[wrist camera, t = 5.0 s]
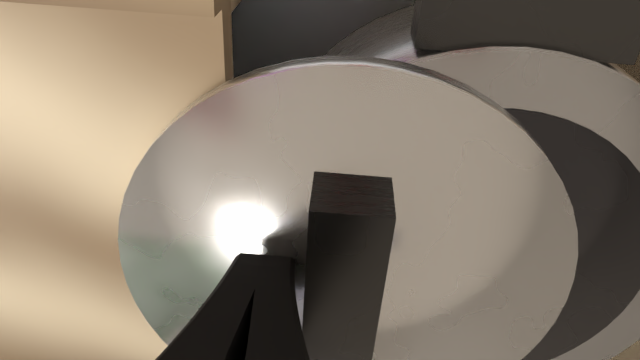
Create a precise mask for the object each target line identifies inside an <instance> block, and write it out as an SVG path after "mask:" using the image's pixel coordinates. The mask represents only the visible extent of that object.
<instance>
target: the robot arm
mask: <svg viewBox="0 0 640 360" xmlns="http://www.w3.org/2000/svg"><path fill="white" fill-rule="evenodd" d="M295 271H296V261H295V260H294V259H293V258H292V257H287V256H275V255H262V254H250V253H240V254H238V255H237V256H236V257H235V259H234V260H233V262H232V264H231V265H230V267H229V268H228V270H227V271H226V273H225V274H224V276H223V277H222V279H221V280H220V282H219V283H218V284H217V286H216V287H215V289H214V290H213V291H212V293H211V294H210V295H209V297H208V298H207V299H206V301H205V302H204V303H203V304H202V306H201V307H200V308H199V310H198V311H197V312H196V313H195V315H194V316H193V317H192V318H191V320H190V321H189V322H188V323H187V324H186V326H185V327H184V328H183V329H182V330H181V331H180V333H179V334H178V335H177V336H176V337H175V338H174V339H173V340H172V342H171V343H170V344H169V345H168V346H167V347H166V348H165V350H164V351H163V352H162V353H161V354H160V355H159V356H158V357H157V358H156V359H155V360H310V359H309V355H308V352H307V348H306V344H305V340H304V336H303V332H302V327H301V322H300V318H299V313H298V307H297V300H296V292H295Z"/></svg>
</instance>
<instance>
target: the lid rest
mask: <svg viewBox="0 0 640 360" xmlns="http://www.w3.org/2000/svg"><path fill="white" fill-rule="evenodd" d="M240 1H241V0H0V360H155V359H156V358H157V357H158V356H159V355H160V354H161V353H162V352H163V351H164V350H165V348H166V347H167V346H168V345H167V344H166V343H165V342H164V341H163V340H162V339H161V338H160V337H159V335H158V334H157V333H156V332H155V331H154V329H153V328H152V327H151V326H150V325H149V323H148V322H147V321H146V319H145V317H144V316H143V314H142V313H141V311H140V310H139V308H138V307H137V305H136V303H135V301H134V299H133V297H132V294H131V292H130V290H129V288H128V286H127V283H126V280H125V276H124V273H123V270H122V266H121V263H120V254H119V246H118V228H119V215H120V211H121V207H122V203H123V198H124V194H125V192H126V189H127V187H128V185H129V182H130V180H131V178H132V175H133V173H134V171H135V169H136V168H137V166H138V165H139V163H140V162H141V160H142V159H143V157H144V155H145V154H146V152H147V151H148V149H149V148H150V146H151V145H152V144H153V142H154V141H155V139H156V138H157V137H158V135H159V134H160V133H161V132H162V131H163V130H164V129H165V128H166V126H167V125H168V124H169V123H170V122H171V121H172V120H173V119H174V118H175V117H176V116H177V115H178V114H179V113H180V112H181V111H183V110H184V109H185V108H186V107H188V106H189V105H190V104H191V103H193V102H194V101H195V100H196V99H198V98H199V97H200V96H202V95H204V94H205V93H207V92H209V91H210V90H212V89H214V88H216V87H217V86H219V85H221V84H223V83H224V82H226V81H228V80H230V79H233V78H234V76H233V48H232V20H231V13H232V11H233V10H234V9H235V8H236V6H237V5H238V4H239V3H240Z"/></svg>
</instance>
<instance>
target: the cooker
mask: <svg viewBox="0 0 640 360" xmlns="http://www.w3.org/2000/svg"><path fill="white" fill-rule="evenodd" d="M639 52H640V0H415V5H413V6H410V7H406V8H402V9H400V10H397V11H395V12H392V13H390V14H387V15H385V16H382V17H380V18H377V19H375V20H374V21H372V22H370V23H368V24H367V25H365V26H363V27H361V28H359V29H358V30H356V31H354V32H353V33H351V34H350V35H349V36H347V37H346V38H345V39H343V40H342V41H341V42H339V43H338V44H337V45H335V46H334V47H333V48H332V49H331V50H330V51H329V52H328V53H327V54H326V55H325V56H368V57H375V58H382V59H390V60H397V61H402V62H406V63H409V64H413V65H416V66H420V67H424V68H427V69H431V70H435V71H437V72H439V73H442V74H444V75H446V76H449V77H451V78H453V79H456V80H458V81H460V82H463V83H465V84H467V85H469V86H470V87H472V88H474V89H475V90H477V91H479V92H480V93H482V94H484V95H485V96H487V97H489V98H490V99H492V100H494V101H495V102H496V103H498V104H499V105H500V106H501V107H502V108H504V109H505V110H506V111H507V112H508V113H510V114H511V115H512V116H513V117H515V118H516V119H517V120H518V121H519V122H520V123H521V124H522V125H523V126H524V127H525V129H526V130H527V131H528V132H529V133H530V134H531V135H532V136H533V138H534V139H535V140H536V141H537V142H538V143H539V145H540V146H541V148H542V150H543V151H544V153H545V154H546V156H547V158H548V159H549V161H550V162H551V164H552V166H553V167H554V169H555V170H556V172H557V174H558V175H559V177H560V178H561V180H562V182H563V184H564V186H565V189H566V191H567V194H568V196H569V199H570V201H571V204H572V206H573V211H574V216H575V221H576V225H577V230H578V260H577V266H576V272H575V278H574V281H573V284H572V287H571V290H570V293H569V296H568V299H567V301H566V303H565V305H564V307H563V309H562V311H561V312H560V314H559V316H558V318H557V320H556V321H555V323H554V324H553V325H552V327H551V328H550V329H549V331H548V332H547V333H546V335H545V336H544V337H543V339H542V340H541V341H540V342H539V343H538V344H537V345H536V346H535V347H534V348H533V349H532V350H531V351H530V352H529V353H528V354H527V355H526V356H525V357H524V358H523V359H521V360H609V359H611V358H613V357H614V356H616V355H618V354H620V353H621V352H622V351H624V350H625V349H627V348H628V347H630V346H631V345H632V344H634V343H635V342H637V341H638V340H639V339H640V83H639V82H638V81H637V80H636V79H634V78H633V77H632V76H631V75H629V74H628V73H627V72H626V71H625V70H623V69H622V68H621V67H620V66H618V65H617V64H629V65H634V64H635V62H636V59H637V57H638V54H639Z"/></svg>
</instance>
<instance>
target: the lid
mask: <svg viewBox="0 0 640 360" xmlns="http://www.w3.org/2000/svg"><path fill="white" fill-rule="evenodd" d="M118 246H119V254H120V263H121V266H122V270H123V273H124V276H125V280H126V283H127V286H128V288H129V290H130V292H131V294H132V297H133V299H134V301H135V303H136V305H137V307H138V308H139V310H140V311H141V313H142V314H143V316H144V317H145V319H146V321H147V322H148V323H149V325H150V326H151V327H152V328H153V329H154V331H155V332H156V333H157V334H158V335H159V337H160V338H161V339H162V340H163V341H164V342H165V343H166V344H167V345H169V344H170V343H171V342H172V340H173V339H174V338H175V337H176V336H177V335H178V334H179V333H180V331H181V330H182V329H183V328H184V327H185V326H186V324H187V323H188V322H189V321H190V320H191V318H192V317H193V316H194V315H195V313H196V312H197V311H198V310H199V308H200V307H201V306H202V304H203V303H204V302H205V301H206V299H207V298H208V297H209V295H210V294H211V293H212V291H213V290H214V289H215V287H216V286H217V284H218V283H219V282H220V280H221V279H222V277H223V276H224V274H225V273H226V271H227V270H228V268H229V267H230V265H231V264H232V262H233V260H234V259H235V257H236V256H237V255H238V254H240V253H250V254H262V255H275V256H287V257H292V258H293V259H294V260H295V261H296V271H295V292H296V300H297V307H298V313H299V318H300V322H301V327H302V332H303V336H304V340H305V344H306V348H307V352H308V355H309V359H310V360H521V359H523V358H524V357H525V356H526V355H527V354H528V353H529V352H530V351H531V350H532V349H533V348H534V347H535V346H536V345H537V344H538V343H539V342H540V341H541V340H542V339H543V337H544V336H545V335H546V333H547V332H548V331H549V329H550V328H551V327H552V325H553V324H554V323H555V321H556V320H557V318H558V316H559V314H560V312H561V311H562V309H563V307H564V305H565V303H566V301H567V299H568V296H569V293H570V290H571V287H572V284H573V281H574V278H575V272H576V266H577V260H578V230H577V225H576V221H575V216H574V211H573V206H572V204H571V201H570V199H569V196H568V194H567V191H566V189H565V186H564V184H563V182H562V180H561V178H560V177H559V175H558V174H557V172H556V170H555V169H554V167H553V166H552V164H551V162H550V161H549V159H548V158H547V156H546V154H545V153H544V151H543V150H542V148H541V146H540V145H539V143H538V142H537V141H536V140H535V139H534V138H533V136H532V135H531V134H530V133H529V132H528V131H527V130H526V129H525V127H524V126H523V125H522V124H521V123H520V122H519V121H518V120H517V119H516V118H515V117H513V116H512V115H511V114H510V113H508V112H507V111H506V110H505V109H504V108H502V107H501V106H500V105H499V104H498V103H496V102H495V101H494V100H492V99H490V98H489V97H487V96H485V95H484V94H482V93H480V92H479V91H477V90H475V89H474V88H472V87H470V86H469V85H467V84H465V83H463V82H460V81H458V80H456V79H453V78H451V77H449V76H446V75H444V74H442V73H439V72H437V71H435V70H431V69H427V68H424V67H420V66H416V65H413V64H409V63H406V62H402V61H397V60H390V59H382V58H375V57H368V56H319V57H311V58H302V59H294V60H289V61H285V62H281V63H277V64H273V65H269V66H265V67H261V68H258V69H255V70H253V71H250V72H248V73H245V74H243V75H240V76H238V77H235V78H233V79H230V80H228V81H226V82H224V83H223V84H221V85H219V86H217V87H216V88H214V89H212V90H210V91H209V92H207V93H205V94H204V95H202V96H200V97H199V98H198V99H196V100H195V101H194V102H193V103H191V104H190V105H189V106H188V107H186V108H185V109H184V110H183V111H181V112H180V113H179V114H178V115H177V116H176V117H175V118H174V119H173V120H172V121H171V122H170V123H169V124H168V125H167V126H166V128H165V129H164V130H163V131H162V132H161V133H160V134H159V135H158V137H157V138H156V139H155V141H154V142H153V144H152V145H151V146H150V148H149V149H148V151H147V152H146V154H145V155H144V157H143V159H142V160H141V162H140V163H139V165H138V166H137V168H136V169H135V171H134V173H133V175H132V178H131V180H130V182H129V185H128V187H127V189H126V192H125V194H124V198H123V203H122V207H121V211H120V215H119V228H118Z"/></svg>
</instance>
